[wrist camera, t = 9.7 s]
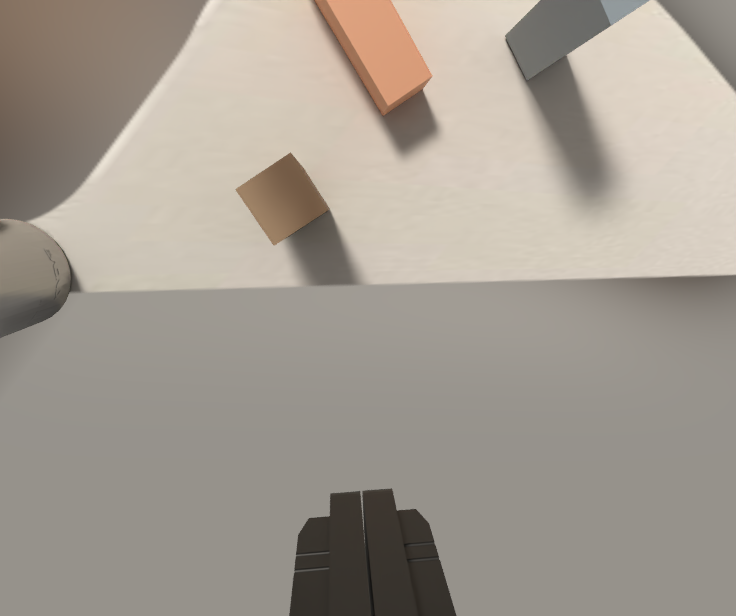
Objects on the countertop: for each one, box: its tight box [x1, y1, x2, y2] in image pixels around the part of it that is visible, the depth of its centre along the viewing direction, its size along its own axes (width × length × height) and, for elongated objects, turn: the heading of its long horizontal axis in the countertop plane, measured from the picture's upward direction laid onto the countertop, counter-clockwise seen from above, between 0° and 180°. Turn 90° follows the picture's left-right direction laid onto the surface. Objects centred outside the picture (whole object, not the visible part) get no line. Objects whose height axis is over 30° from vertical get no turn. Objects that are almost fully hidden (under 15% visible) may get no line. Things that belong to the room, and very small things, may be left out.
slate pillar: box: [505, 0, 649, 80], centre depth 32 cm, size 4×4×12 cm
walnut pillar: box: [235, 153, 329, 245], centre depth 33 cm, size 4×4×12 cm
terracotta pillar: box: [315, 0, 432, 116], centre depth 35 cm, size 4×4×12 cm
